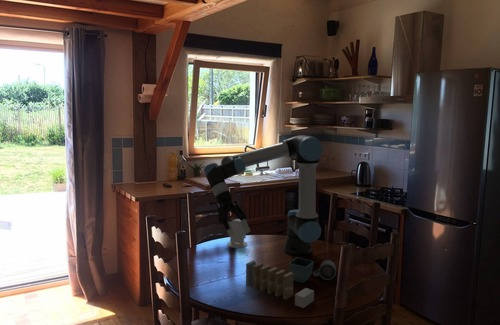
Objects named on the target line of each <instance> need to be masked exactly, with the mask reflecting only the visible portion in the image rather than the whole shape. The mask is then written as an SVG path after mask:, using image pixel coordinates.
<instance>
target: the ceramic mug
mask: <svg viewBox="0 0 500 325" xmlns="http://www.w3.org/2000/svg"><path fill="white" fill-rule="evenodd" d="M336 273H337V266H336V264H335V263H334V262H333V261H332V260H331V259H330V260H329V259H326V260H324V261H322V263H321V264H320V265H319V268H317V269H315V270H314V271H312V275H313V276H314V277H320V278H322V280H325V281H330V280H333V279H334V278H335V277H336Z"/></svg>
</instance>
